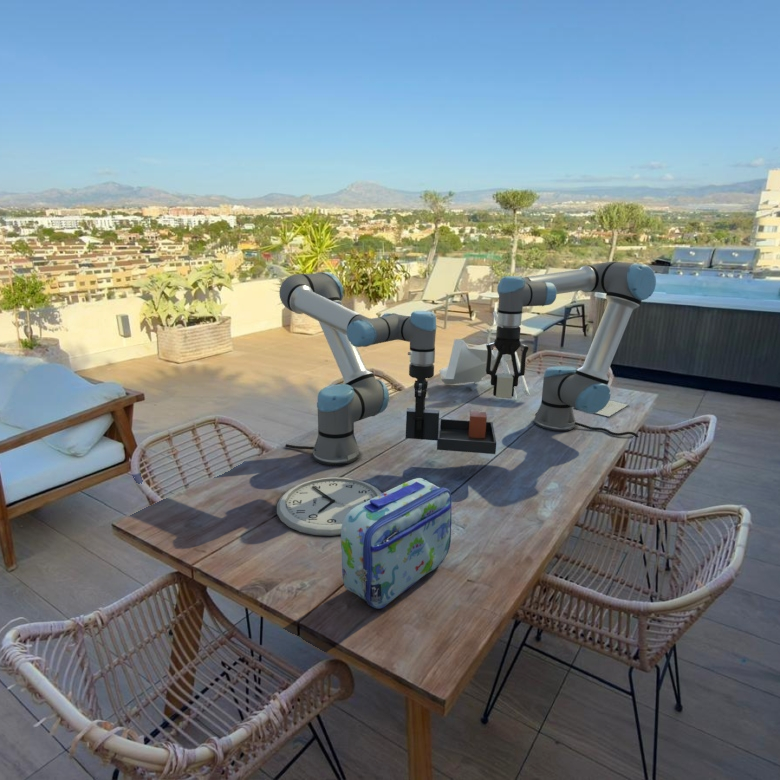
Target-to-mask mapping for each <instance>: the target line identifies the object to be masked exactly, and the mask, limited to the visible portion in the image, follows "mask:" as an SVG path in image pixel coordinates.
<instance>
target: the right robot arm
mask: <svg viewBox="0 0 780 780" xmlns="http://www.w3.org/2000/svg"><path fill="white" fill-rule="evenodd" d="M656 285H657V278H656V275H655V271H654V269H653V268H651V267H650V266H649V265H648V264H644V263H639V262H624V261H623V262H622V261H604V262H599V263H594V264H589V265H583V266H581V267H580V268H579V269H573V270H565V271H559V272H552V273H551V272H550V273H544V274H538V275H530V276H524V277H523V276H515V275H514V276H512V275H506V276H503V277H501V279H500V280H499V282H498V284H497V288H496V290H497V294H498V304H497V306H498V307H497V314H498V318H497V324H498V326H497V325H496V331H495V339H494V341H493V342H491V343H489V342H487V343H485V344H486V347H487V350H488V351H487V363H486V373H487V375H488V376H490V385H491V386H493V390H492V391H493V392H492V395H493V396H494V397H496V388H497V375H496V373H498V369H499V367H500V366H499V363H500V360H501V358H502V355H505V354H508V355H511V364H512V369H513V374H512V376H513V386H512V397H513V398H514V396H513V395H514V388H515V387H518V385H519V376H524V377H525V375H526V362H527V361H526V360H527V352H528V351H529V346H528V345H527V344H523V343H521V330H522V328H521V327H520V326H521V325H522V317H523V308H524V307H525V308H526V307H545V306H550V305H552V304H553V303H554V302H555V301H556V299H557V295H560V294H561V295H562V294H568V293H573V292H580V291H581V293H598V294H599V293H600V294H604V295H605V300H607V304H606V307H605V308H604V311H603V314H602V317H601V319H600V321H599V323H598V326H597V329H596V331H595V334H594V337H593V340H592V342H591V345H590V347H589V349H588V351H587V352H588V353H587V354H586V356H585V358H584V359H585V360H584V362H583V364H582V366H581V367H579V368H576V367H574V366H566V365H565V366H564V365H562V366H561V365H559V366H558V365H557V366H549V367H547V368H546V369H545V370H544V375H543V381H542V392H541V402H540V405H539V407H538V410H537V411H536V413H535V414H534V416H535V417H534V424H535V425H536V426H537V427H539V428H542V429H544V430H549V431H556V432H567V431H572V430H574V429H575V428H576V426H579V427H582V428H585V429H587V430H592V431H602V432H606V433H608V434H609V435H612V436H616V437H617V436H618V437H619V436H625V435H626V436H627V435H632V436H634V437H635V438H640V436H639V435H638V434H637V433H635V432H633V431H624V432H613V431H612V430H610V429H607V428H606V427H605V428H604V427H597V426H596V427H594V426H590V425H587V424H584V423H580V422H577V421H576V418H575V417H576V416H575V413H574V409H575V410H578V411H579V412H583V413H586V414H591V415H593V414H596V412H598V411H600V410H602V409H603V408H604V407H605V406H606V405H607V403H608V402H609V400H610V399H611V394H612V393H611V389H610V387H609V382H610V379H609V377H608V372H609V370H610V367H611V365H612V362H613V360H614V357H615V355H616V353H617V350H618V348H619V345H620V343H621V341H622V339H623V336H624V333H625V331H626V328H627V326H628V323H629V321H630V318H631V316H632V313H633V311H634V310H635V309H637V308H639V307H640V306H641V304H642V301H645V300H648V299H649V298H650V297H651V296H652V295H653V294H654V292H655V290H656ZM494 347H495V348H496V350H498V354H497V357H496V360H495V363H494V366H493V369H492V371H491V370H490V367H491V355H492V351H491V350H494ZM519 348H520V351H521V352H520V353H521V354H520V371H519V372H518V368H517V363H516V357H515V352H517V351H518V350H519ZM498 366H499V367H498Z"/></svg>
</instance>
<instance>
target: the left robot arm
mask: <svg viewBox="0 0 780 780" xmlns="http://www.w3.org/2000/svg"><path fill="white" fill-rule="evenodd" d="M278 295H279V299H280V302H281V303H282V305H283V306H284V307H285V308H286V309H287V310H289V311H291V312H293V313H295V314H297V315H305V316H307V317H309V318H312V319H314V320H316V321H318V324H319V326H320V328H321V330H322V332H323V335H324V337H325V339H326V342H327V344H328V346H329V349H330V351H331V354H332V356H333V357H334V360H335V362H336V365H337V367H338V369H339V372H340V375H341V376H342V378H343V383H338V384H331V385H327V386H325V387H323V388H322V389H320V391H319V392H318V394H317V402H316V408H317V438H316V440H315V444H314V446H308V445H307V446H305V445H293V444H287V443H286V444H285V448H290V449H297V450H312V457H313V460H315V462H317V463H319V464H322V465H326V466H344V465H349V464H352V463H354V462H356V461H357V460H359V458H360V447H359V445H358V442H357V439H356V435H355V423H356V422H359V421H362V420H365V419H367V418H370V417H376V416H378V415H379V414H381V413H383V412H385V410H386V409H387V407H388V405H389V402H390V391H389V388H388V387H387V385H386V383H385V382H384V381H382V379H381V380H380V379H376V377H375V375H374V372H372V371H370V370H368V369H367V367H366V365H365V362H364V360H363V358H362V356H361V354H360V351H359V349H358V348H362V347H363V348H366V347H370V346H373V345H377V344H382V343H388V342H392V341H403V342H407V343H409V351H408V352H407V356H409V362H410V363H409V365H408V375H409V377H411V378H412V379H415V380H414V384H413V389H414V398H415V400H414V403H415V404H414V409H415V417H413V419H415V432H414V438H415V439H414V440H422V439H423V428H424V417H423V414H424V409H426V398H427V393H428V392H427V391H428V385H429V381H428V380H427V379H431V378H433V377H434V375H435V365H434V364H435V360H436V336H437V316H436V313H434V312H432V311H428V310H414V311H412V312H411V313H410V315H409V316H408V315H403V314H398V313H395V312H394V313H391V312H390V313H389V312H386V313H384V314H382V315H381V316H380V317H375V318H374V317H373V318H371V317H367V316H366V315H363V314H361V313H359V312H358V311H357V312H356V311H355V310H352V309H351V308H348V307H346V306H344V305H343V302H342V300H343V298H344V287H343V284H342V283H341V280H340V279H339V278H338V276H336V275H335V274H333V273H330V272H321V271H320V272H315V273H297V274H292V275H289V276H288V277H287V278H285V279H284V280H283V282H282V283H281V284H280V286H279V293H278Z"/></svg>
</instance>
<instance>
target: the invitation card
mask: <svg viewBox="0 0 780 780" xmlns="http://www.w3.org/2000/svg"><path fill="white" fill-rule="evenodd" d="M628 406H629V404H627V403H623V402H618V401H614V400H610V399H609V402H608V403H607V405H606V406H605V407H604V408H603V409H602V410H600V411H598V412H596V413H595V414H596V415H600V416H604V417H608V418H609V417H611V416H613V415H614V414H616V413H617V412H619V411H621V410H623V409H624V408H626V407H628Z"/></svg>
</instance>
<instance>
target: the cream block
mask: <svg viewBox="0 0 780 780" xmlns="http://www.w3.org/2000/svg"><path fill="white" fill-rule="evenodd" d="M496 375H497V388H496V396H495V398H496V399H499V398H500V399H512V386H513V376H512V375H513V374H512V373H510V374H505V373H504V372H503V373H502V372H496Z"/></svg>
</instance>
